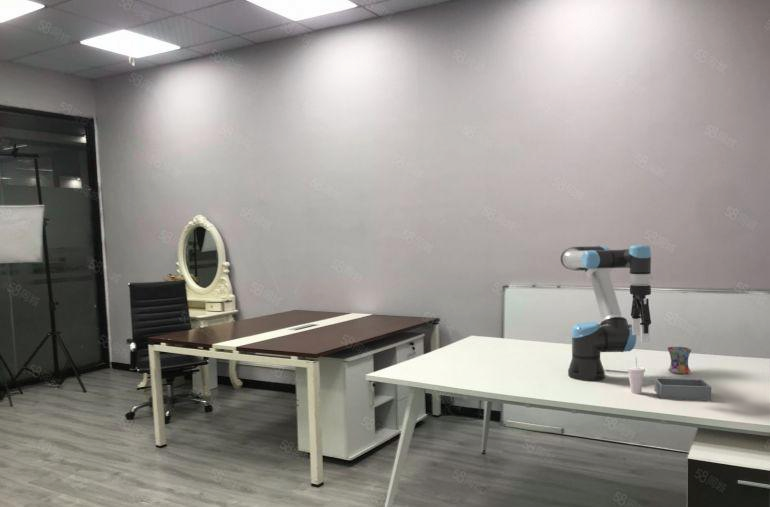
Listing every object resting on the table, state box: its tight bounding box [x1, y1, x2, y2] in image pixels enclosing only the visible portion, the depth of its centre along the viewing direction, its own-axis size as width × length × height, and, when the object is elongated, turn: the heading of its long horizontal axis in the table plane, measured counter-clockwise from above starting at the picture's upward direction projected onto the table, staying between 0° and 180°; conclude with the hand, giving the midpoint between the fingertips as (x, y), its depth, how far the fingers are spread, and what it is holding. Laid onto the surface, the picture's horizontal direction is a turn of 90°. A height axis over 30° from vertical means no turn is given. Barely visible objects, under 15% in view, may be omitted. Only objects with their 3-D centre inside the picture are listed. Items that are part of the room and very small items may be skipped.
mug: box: [667, 346, 692, 375], centre depth 246 cm, size 12×9×11 cm
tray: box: [653, 377, 712, 401], centre depth 213 cm, size 17×10×5 cm, turn 77°
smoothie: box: [626, 357, 646, 395], centre depth 218 cm, size 6×6×14 cm
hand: (640, 338), depth 219 cm, fingers open, 13 cm apart
